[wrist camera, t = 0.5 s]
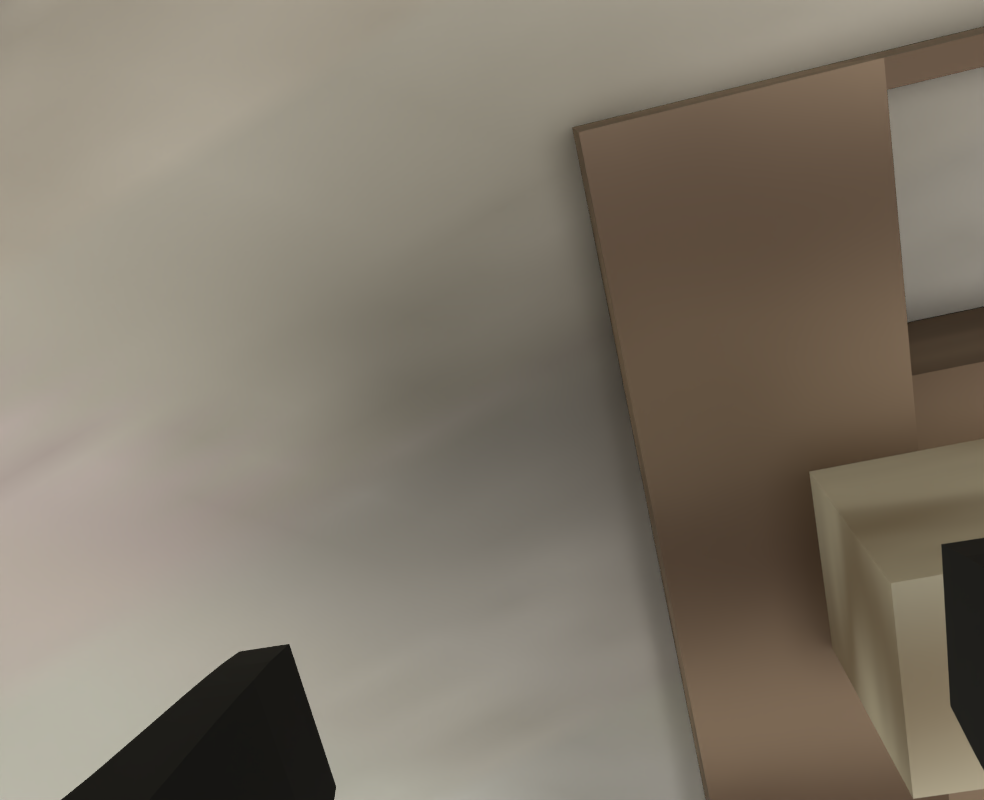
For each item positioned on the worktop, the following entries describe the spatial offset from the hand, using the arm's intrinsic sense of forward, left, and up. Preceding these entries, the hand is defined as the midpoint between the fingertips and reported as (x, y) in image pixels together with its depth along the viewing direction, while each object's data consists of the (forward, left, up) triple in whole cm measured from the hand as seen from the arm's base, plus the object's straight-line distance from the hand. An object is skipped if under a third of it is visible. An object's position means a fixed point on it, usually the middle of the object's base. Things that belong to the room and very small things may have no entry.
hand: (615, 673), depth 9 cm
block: (-4, -6, -7) cm, 10 cm away
